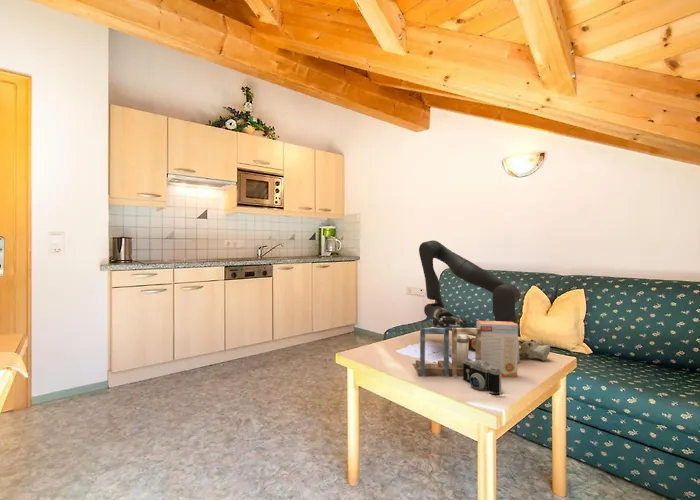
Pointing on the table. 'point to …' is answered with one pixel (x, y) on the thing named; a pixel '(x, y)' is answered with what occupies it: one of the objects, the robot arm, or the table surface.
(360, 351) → the table surface
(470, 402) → the table surface
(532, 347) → the ceramic sculpture
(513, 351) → the cracker box
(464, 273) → the robot arm
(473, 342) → the kendama
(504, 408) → the table surface
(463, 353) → the white cylinder
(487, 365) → the camera
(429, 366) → the wooden rack
